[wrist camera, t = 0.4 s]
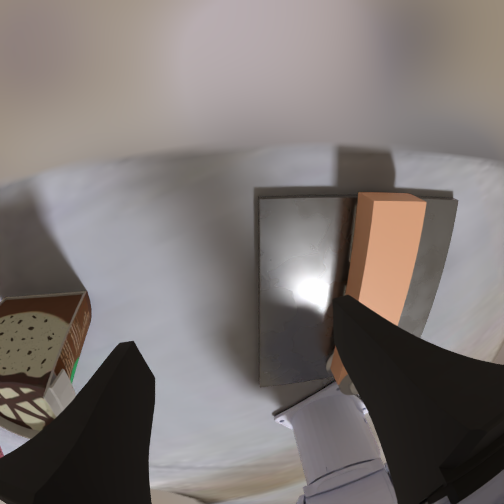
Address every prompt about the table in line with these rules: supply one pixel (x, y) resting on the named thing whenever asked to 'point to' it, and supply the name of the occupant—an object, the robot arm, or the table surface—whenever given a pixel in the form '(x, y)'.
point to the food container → (39, 357)
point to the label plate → (327, 278)
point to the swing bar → (382, 259)
